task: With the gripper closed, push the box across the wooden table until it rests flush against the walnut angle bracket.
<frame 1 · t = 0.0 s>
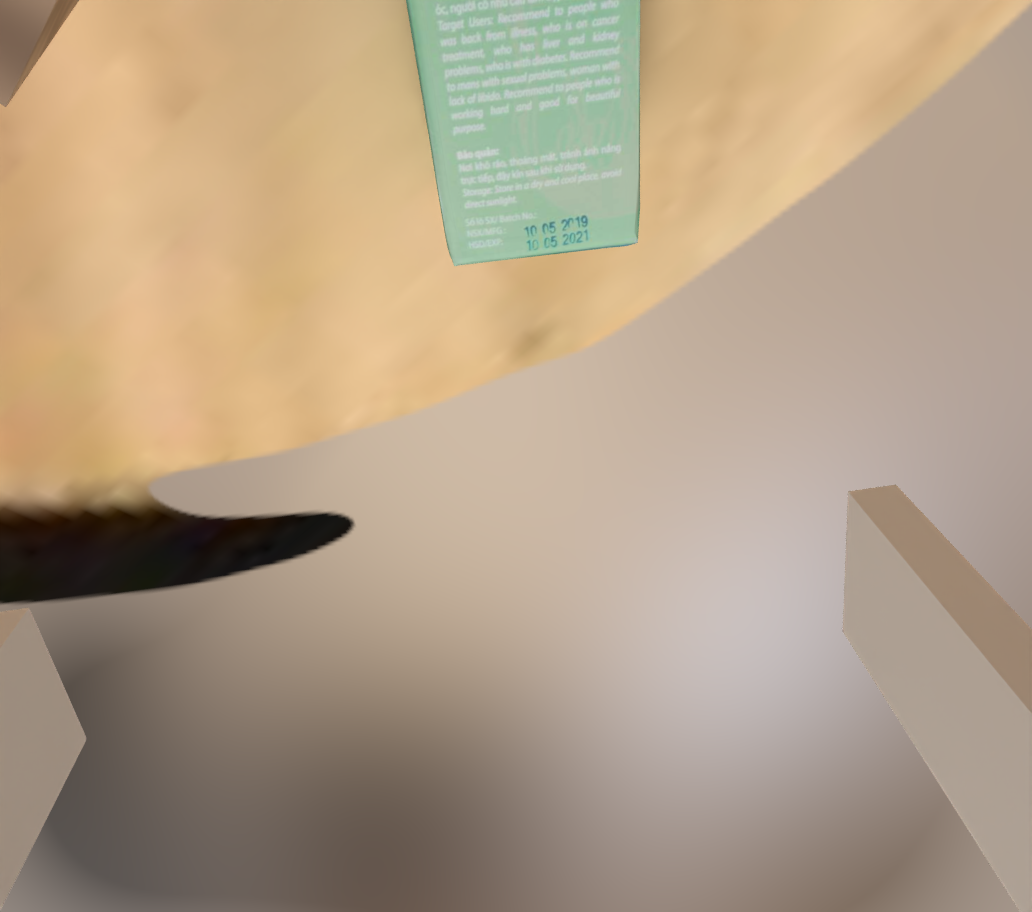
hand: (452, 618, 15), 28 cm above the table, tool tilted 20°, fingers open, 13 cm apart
box: (510, 0, 35), on the table
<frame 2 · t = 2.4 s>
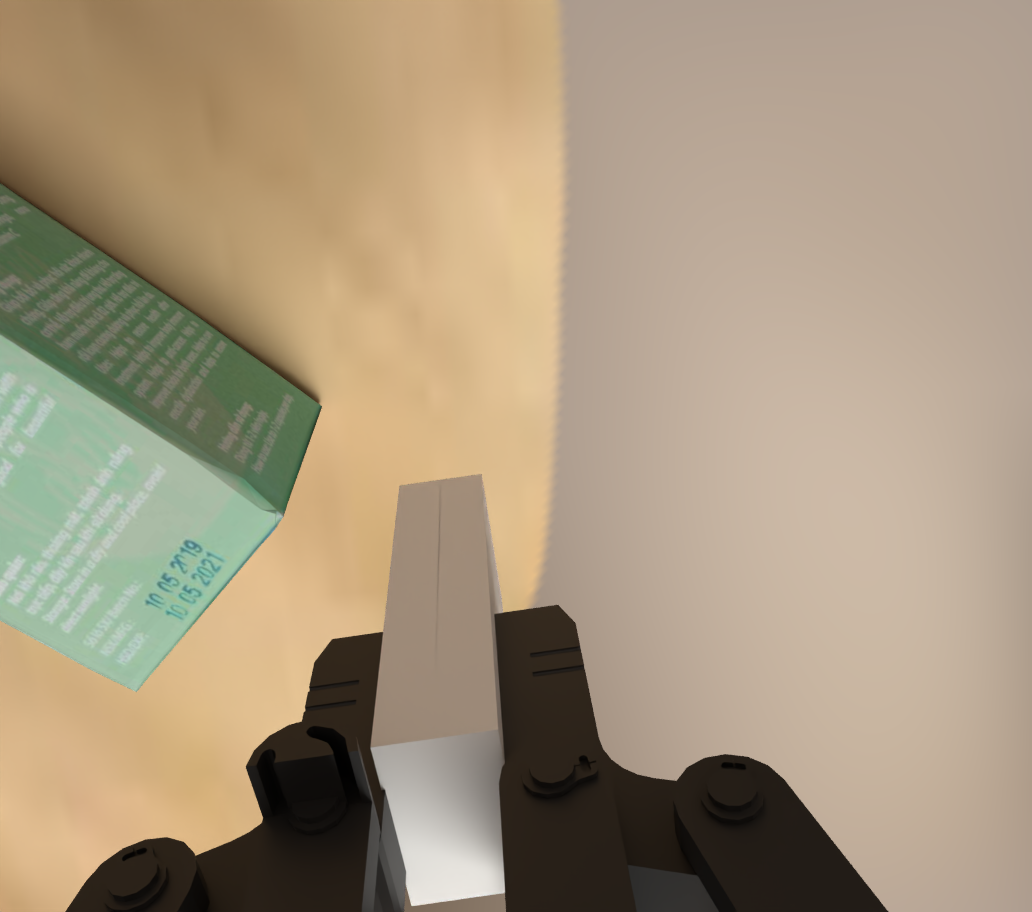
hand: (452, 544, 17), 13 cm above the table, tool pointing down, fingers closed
box: (75, 356, 28), on the table
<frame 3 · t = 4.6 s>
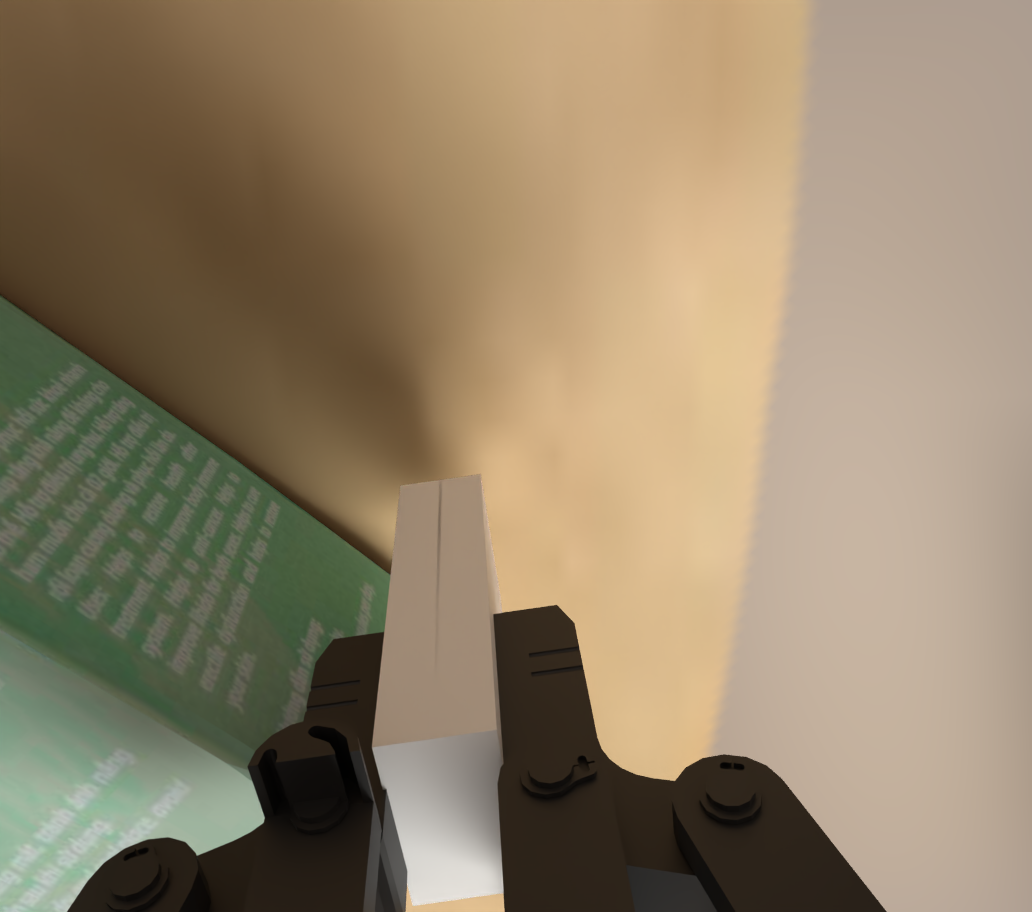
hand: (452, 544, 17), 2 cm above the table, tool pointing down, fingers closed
box: (50, 505, 19), on the table, touching gripper
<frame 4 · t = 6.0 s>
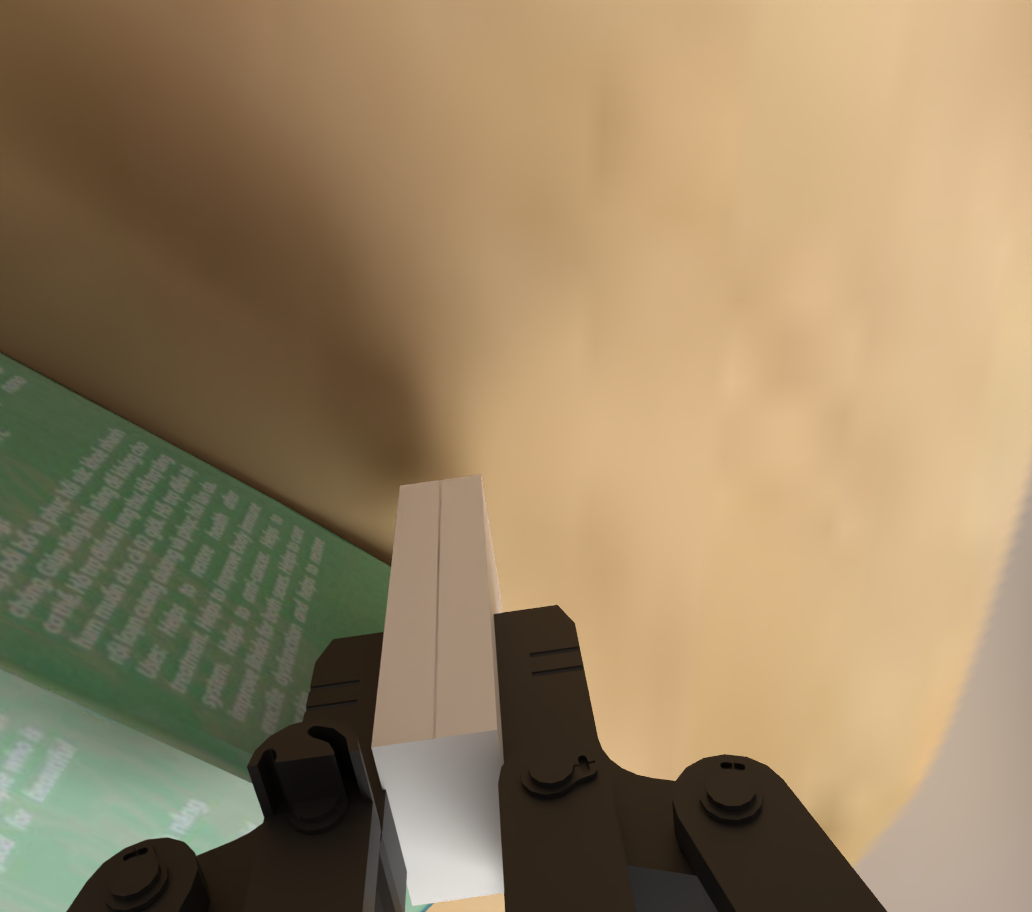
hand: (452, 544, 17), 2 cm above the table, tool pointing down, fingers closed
box: (108, 563, 20), on the table, touching gripper
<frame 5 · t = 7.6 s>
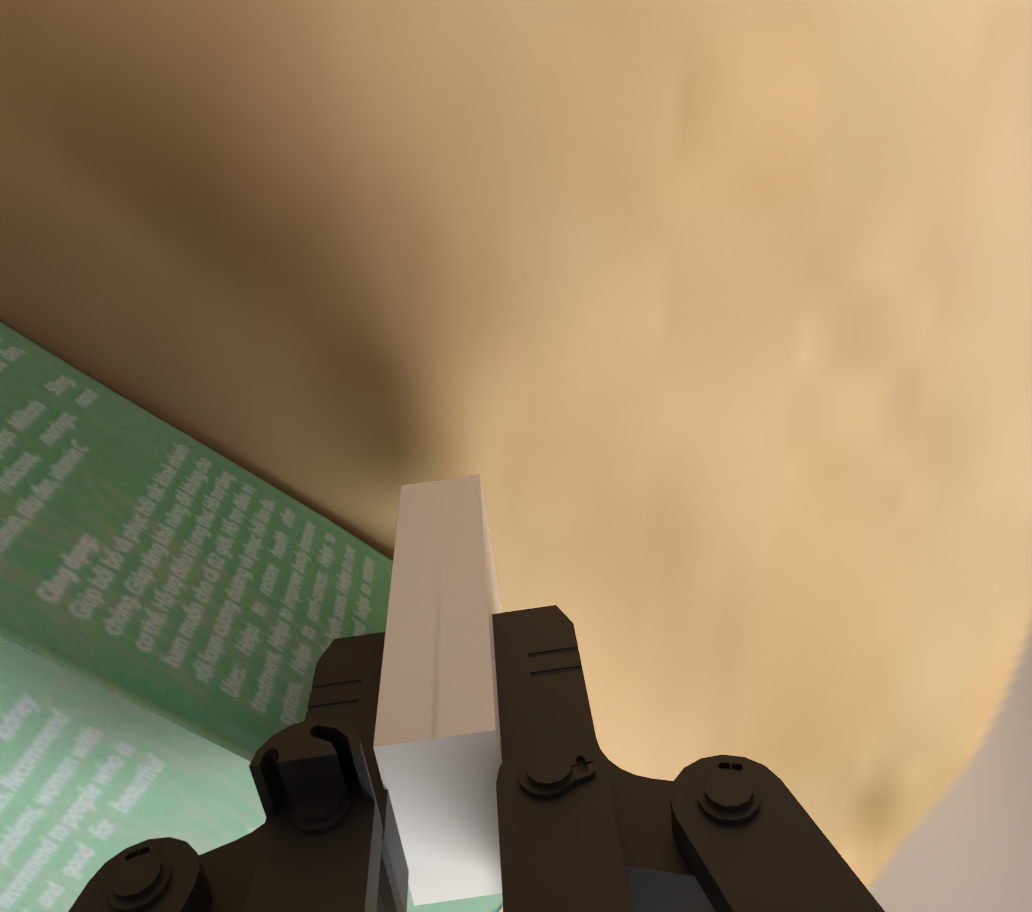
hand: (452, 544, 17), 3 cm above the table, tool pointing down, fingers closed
box: (154, 572, 20), on the table, touching gripper, walnut angle bracket
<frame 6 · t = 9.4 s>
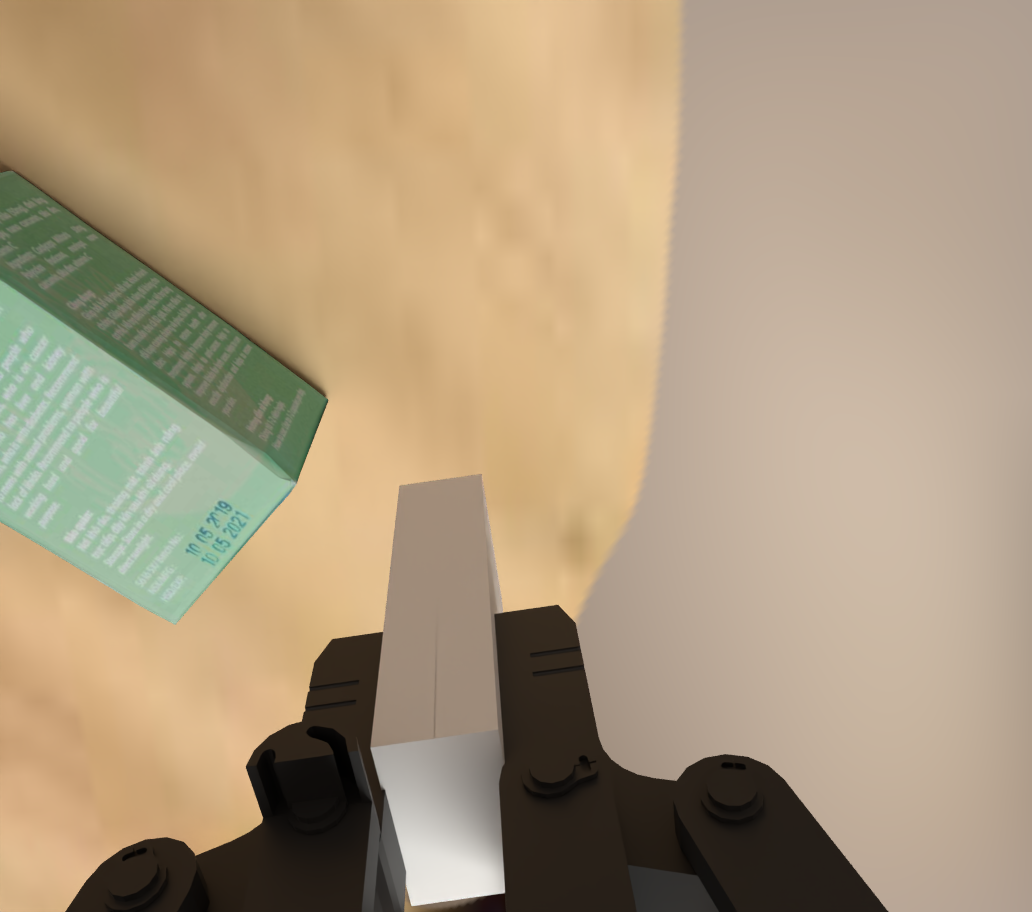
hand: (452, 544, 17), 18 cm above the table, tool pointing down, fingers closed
box: (127, 355, 34), on the table
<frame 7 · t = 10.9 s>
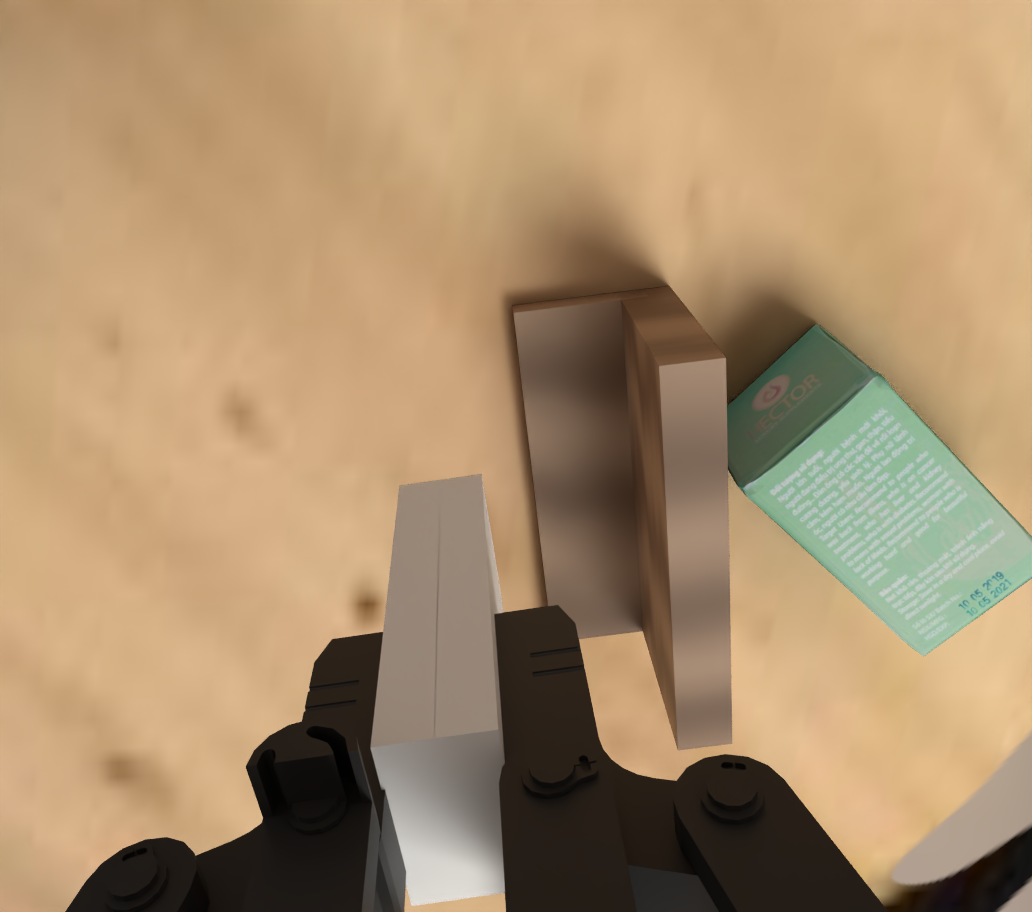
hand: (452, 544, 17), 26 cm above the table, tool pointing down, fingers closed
box: (837, 452, 46), on the table
walnut angle bracket: (652, 465, 46), on the table
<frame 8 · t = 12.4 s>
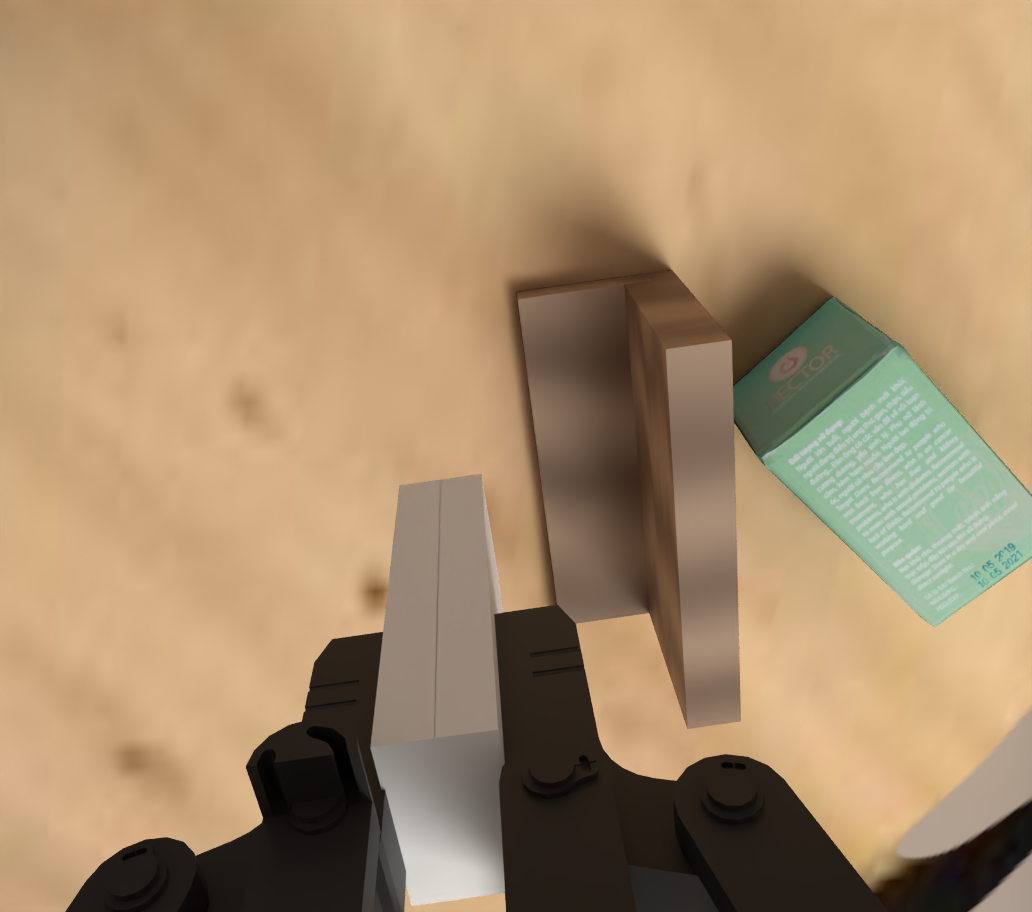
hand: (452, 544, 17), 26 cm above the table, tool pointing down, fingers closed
box: (849, 426, 46), on the table
walnut angle bracket: (657, 449, 46), on the table
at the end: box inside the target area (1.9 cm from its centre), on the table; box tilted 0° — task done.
